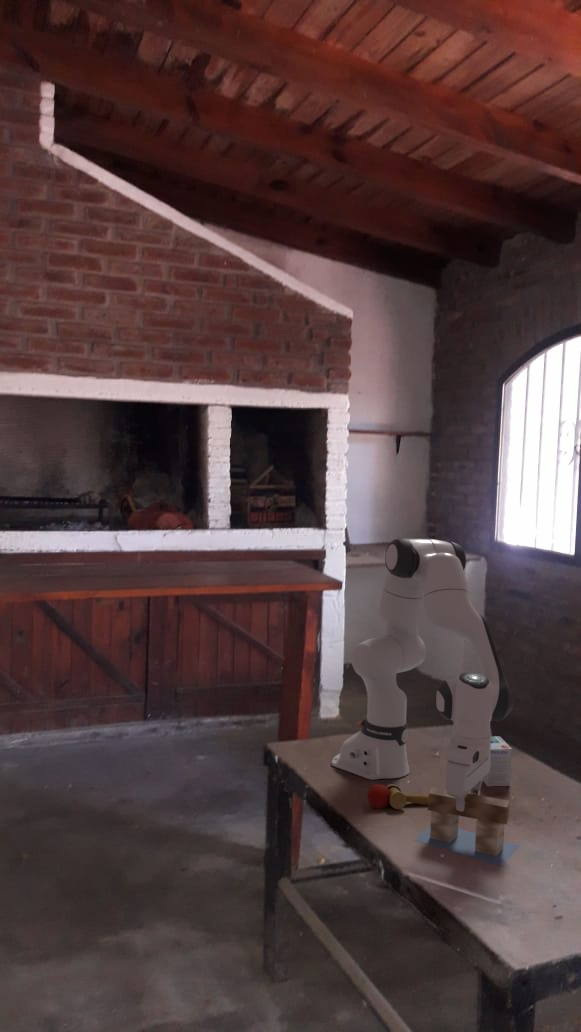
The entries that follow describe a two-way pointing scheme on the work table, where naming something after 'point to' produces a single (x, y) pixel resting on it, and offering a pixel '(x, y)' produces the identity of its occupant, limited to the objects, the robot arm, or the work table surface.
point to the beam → (470, 806)
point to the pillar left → (444, 826)
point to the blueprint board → (468, 846)
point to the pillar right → (489, 837)
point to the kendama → (393, 797)
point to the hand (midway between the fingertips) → (468, 802)
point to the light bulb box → (499, 763)
